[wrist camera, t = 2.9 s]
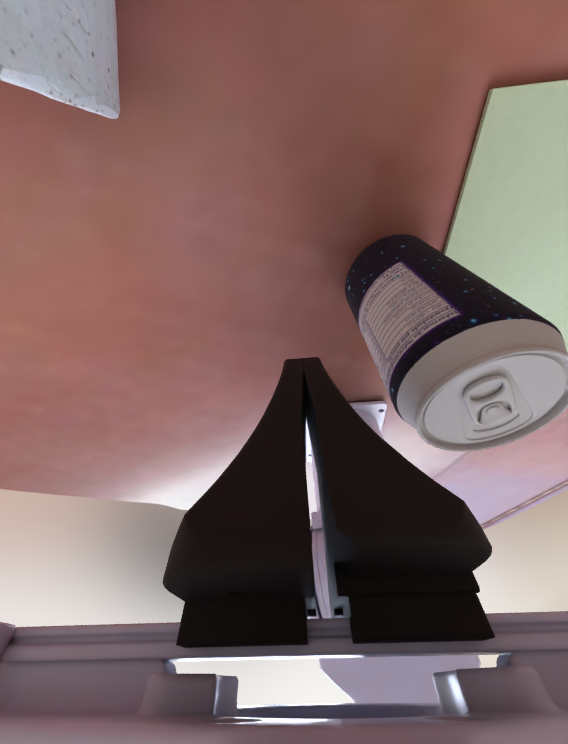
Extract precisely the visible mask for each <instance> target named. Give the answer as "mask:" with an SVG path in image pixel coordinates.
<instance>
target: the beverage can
mask: <svg viewBox="0 0 568 744" xmlns="http://www.w3.org/2000/svg"><path fill="white" fill-rule="evenodd" d="M345 294H346V298H347V301H348V304H349V306H350V308H351V310H352V313H353V315H354V317H355V319H356V322H357V324H358V326H359V328H360V331H361V333H362V335H363V337H364V340H365V342H366V344H367V347H368V349H369V351H370V353H371V356H372V358H373V360H374V362H375V365H376V367H377V369H378V371H379V374H380V376H381V378H382V380H383V383H384V385H385V387H386V389H387V392H388V394H389V396H390V398H391V401H392V403H393V405H394V407H395V410H396V412H397V413H398V415H399V416H400V417H401V418H402V419H403V420H404V421H405V422H407V423H408V424H410V425H411V426H413V427H414V428H415V429H417V432H418V434H419V435H420V437H421V438H422V439H423V440H424V441H426V442H427V443H428V444H430V445H432V446H434V447H436V448H440V449H443V450H449V451H476V450H483V449H488V448H493V447H497V446H500V445H504V444H507V443H510V442H513V441H515V440H518V439H520V438H523V437H525V436H527V435H529V434H531V433H533V432H535V431H537V430H538V429H540V428H542V427H544V426H545V425H547V424H548V423H550V422H551V421H553V420H554V419H555V418H557V417H558V416H559V415H560V414H561V413H562V412H564V411H565V410H566V409H567V408H568V353H567V349H566V346H565V342H564V339H563V336H562V334H561V332H560V331H559V329H558V328H557V327H556V326H555V325H554V324H552V323H551V322H550V321H548V320H546V319H545V318H543V317H542V316H540V315H539V314H537V313H535V312H534V311H532V310H531V309H529V308H528V307H526V306H524V305H523V304H521V303H520V302H518V301H517V300H515V299H513V298H512V297H510V296H509V295H507V294H506V293H504V292H502V291H501V290H499V289H498V288H496V287H495V286H493V285H491V284H490V283H488V282H487V281H485V280H484V279H482V278H480V277H479V276H477V275H476V274H474V273H473V272H471V271H469V270H468V269H466V268H465V267H463V266H462V265H460V264H458V263H457V262H455V261H454V260H452V259H451V258H449V257H447V256H446V255H444V254H443V253H441V252H440V251H438V250H436V249H435V248H433V247H432V246H430V245H429V244H427V243H425V242H424V241H422V240H421V239H419V238H417V237H414V236H411V235H404V234H399V235H392V236H388V237H385V238H382V239H380V240H378V241H376V242H374V243H373V244H371V245H370V246H368V247H367V248H366V249H365V250H364V251H362V252H361V253H360V255H359V256H358V257H357V258H356V259H355V261H354V262H353V264H352V266H351V268H350V270H349V272H348V275H347V278H346V284H345Z"/></svg>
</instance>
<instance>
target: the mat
mask: <svg viewBox="0 0 568 744" xmlns="http://www.w3.org/2000/svg"><path fill="white" fill-rule="evenodd" d="M443 254H444V255H446V256H447V257H449V258H451V259H452V260H454V261H455V262H457V263H458V264H460V265H462V266H463V267H465V268H466V269H468V270H469V271H471V272H473V273H474V274H476V275H477V276H479V277H480V278H482V279H484V280H485V281H487V282H488V283H490V284H491V285H493V286H495V287H496V288H498V289H499V290H501V291H502V292H504V293H506V294H507V295H509V296H510V297H512V298H513V299H515V300H517V301H518V302H520V303H521V304H523V305H524V306H526V307H528V308H529V309H531V310H532V311H534V312H535V313H537V314H539V315H540V316H542V317H543V318H545V319H546V320H548V321H550V322H551V323H552V324H554V325H555V326H556V327H557V328H558V329H559V331H560V332H561V334H562V336H563V339H564V342H565V346H566V349H567V353H568V79H567V80H559V81H551V82H543V83H534V84H526V85H518V86H509V87H501V88H493V89H490V90H489V93H488V96H487V100H486V104H485V107H484V111H483V114H482V118H481V121H480V125H479V128H478V132H477V135H476V139H475V142H474V146H473V149H472V153H471V157H470V160H469V164H468V167H467V171H466V174H465V178H464V181H463V185H462V188H461V192H460V195H459V199H458V202H457V206H456V209H455V213H454V217H453V220H452V224H451V227H450V231H449V234H448V238H447V241H446V245H445V248H444V252H443Z"/></svg>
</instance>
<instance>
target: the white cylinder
mask: <svg viewBox="0 0 568 744" xmlns="http://www.w3.org/2000/svg"><path fill="white" fill-rule="evenodd" d="M0 80H2V81H5V82H8V83H11V84H14V85H17V86H20V87H23V88H27V89H30V90H33V91H35V92H38V93H40V94H42V95H44V96H47V97H49V98H52V99H55V100H58V101H61V102H63V103H66V104H69V105H72V106H76V107H79V108H82V109H84V110H87V111H90V112H93V113H96V114H100V115H102V116H105V117H109V118H113V119H116V118H118V116H119V113H120V100H119V83H118V50H117V24H116V5H115V0H0Z"/></svg>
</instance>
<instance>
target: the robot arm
mask: <svg viewBox="0 0 568 744" xmlns="http://www.w3.org/2000/svg"><path fill="white" fill-rule="evenodd" d="M386 409H387V404H386V402H385V401H371V402H356V403H348V402H347V400H346V399H345V398H344V396H343V395H342V394H341V392H340V391H339V390H338V388H337V387H336V386H335V384H334V383H333V381H332V380H331V378H330V377H329V375H328V373H327V372H326V370H325V368H324V366H323V364H322V362H321V360H320V359H319V358H318V357H312V358H299V359H287V360H286V361H285V362H284V366H283V370H282V374H281V377H280V380H279V382H278V385H277V387H276V390H275V392H274V395H273V397H272V399H271V401H270V403H269V405H268V407H267V409H266V411H265V413H264V415H263V417H262V418H261V420H260V422H259V424H258V425H257V427H256V429H255V430H254V432H253V433H252V435H251V436H250V438H249V439H248V441H247V442H246V444H245V445H244V446H243V448H242V449H241V451H240V452H239V453H238V455H237V456H236V457H235V459H234V460H233V461H232V462H231V464H230V465H229V466H228V467H227V469H226V470H225V471H224V472H223V473H222V475H221V476H220V477H219V478H218V479H217V481H216V482H215V483H214V484H213V485H212V486H211V487H210V488H209V489H208V491H207V492H206V493H205V494H204V495H203V496H202V497H201V498H200V499H199V500H198V501H197V502H196V503H195V504H194V505H193V506H192V507H191V508H190V509H189V511H188V512H187V513H186V514H185V515H184V518H183V520H182V522H181V524H180V527H179V529H178V532H177V535H176V537H175V540H174V542H173V545H172V548H171V552H170V555H169V559H168V563H167V567H166V570H165V574H164V578H163V585H164V587H165V588H166V589H167V590H168V591H169V592H171V593H172V594H174V595H176V596H177V597H179V598H180V599H182V600H183V601H185V605H184V609H183V614H182V619H181V622H179V623H147V624H146V623H145V624H113V625H111V624H110V625H75V626H41V627H15V625H12V624H8V623H2V622H0V744H568V611H564V612H563V611H561V612H529V613H528V612H526V613H494V614H492V613H491V614H485V612H484V610H483V608H482V606H481V603H480V601H479V599H478V596H477V594H476V593H478V592H480V589H479V586H478V583H477V581H476V579H475V577H474V574H473V572H472V571H473V570H475V569H476V568H477V567H479V566H480V565H481V564H482V563H484V562H485V561H486V560H487V559H488V558H489V557H490V556H491V553H492V546H491V544H490V543H489V541H488V539H487V537H486V535H485V533H484V531H483V529H482V528H481V526H480V525H479V523H478V521H477V520H476V518H475V517H474V515H473V514H472V512H471V511H470V509H469V508H468V506H467V505H466V503H465V502H464V501H463V500H462V499H460V498H459V497H457V496H456V495H454V494H453V493H451V492H450V491H449V490H447V489H446V488H444V487H443V486H441V485H440V484H438V483H437V482H435V481H434V480H433V479H431V478H430V477H429V476H427V475H426V474H425V473H423V472H422V471H421V470H419V469H418V468H417V467H415V466H414V465H413V464H412V463H410V462H409V461H408V460H407V459H405V458H404V457H403V456H402V455H401V454H400V453H398V452H397V451H396V450H395V449H394V448H393V447H391V446H390V445H389V444H388V443H387V442H385V441H384V439H383V436H382V434H381V430H382V426H383V422H384V418H385V413H386ZM306 456H307V461H308V462H312V467H313V477H314V487H315V497H316V507H317V512H313V513H312V526H310V517H309V505H308V492H307V480H306ZM496 654H502V655H499V657H498V658H497V667H493V668H480V660H479V657H478V655H496ZM308 658H319V662H320V668H321V670H322V671H323V673H324V674H325V675H326V676H327V677H328V678H329V679H330V680H331V681H332V682H333V683H334V684H335V685H337V686H338V687H339V688H340V689H341V690H342V691H343V692H344V693H345V694H346V695H347V696H348V697H349V698H351V699H352V700H353V701H354V702H355V703H327V704H325V703H324V704H279V705H240V706H237V689H238V679H237V677H236V676H221V675H216V674H177V673H176V668H175V666H174V664H173V663H172V662H170V661H214V660H260V659H261V660H262V659H308Z"/></svg>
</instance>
